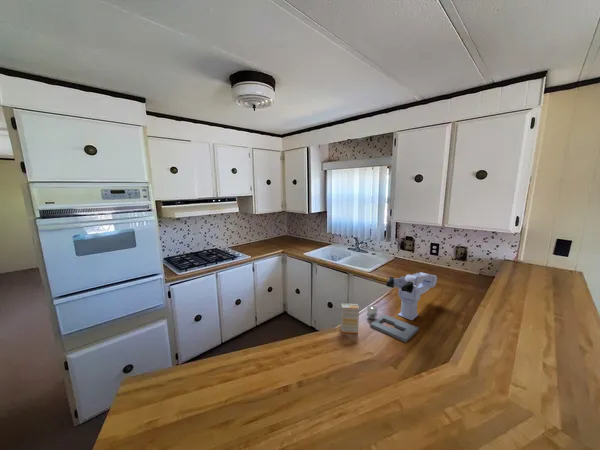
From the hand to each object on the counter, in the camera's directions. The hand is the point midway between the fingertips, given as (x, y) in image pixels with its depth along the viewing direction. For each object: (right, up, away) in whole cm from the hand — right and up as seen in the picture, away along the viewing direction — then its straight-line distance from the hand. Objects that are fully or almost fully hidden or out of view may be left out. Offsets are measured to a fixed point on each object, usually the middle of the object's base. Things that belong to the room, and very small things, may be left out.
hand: (394, 286), depth 116 cm
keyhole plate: (0, -22, +2) cm, 22 cm away
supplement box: (-23, -22, -1) cm, 32 cm away
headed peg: (-8, -20, +12) cm, 25 cm away
